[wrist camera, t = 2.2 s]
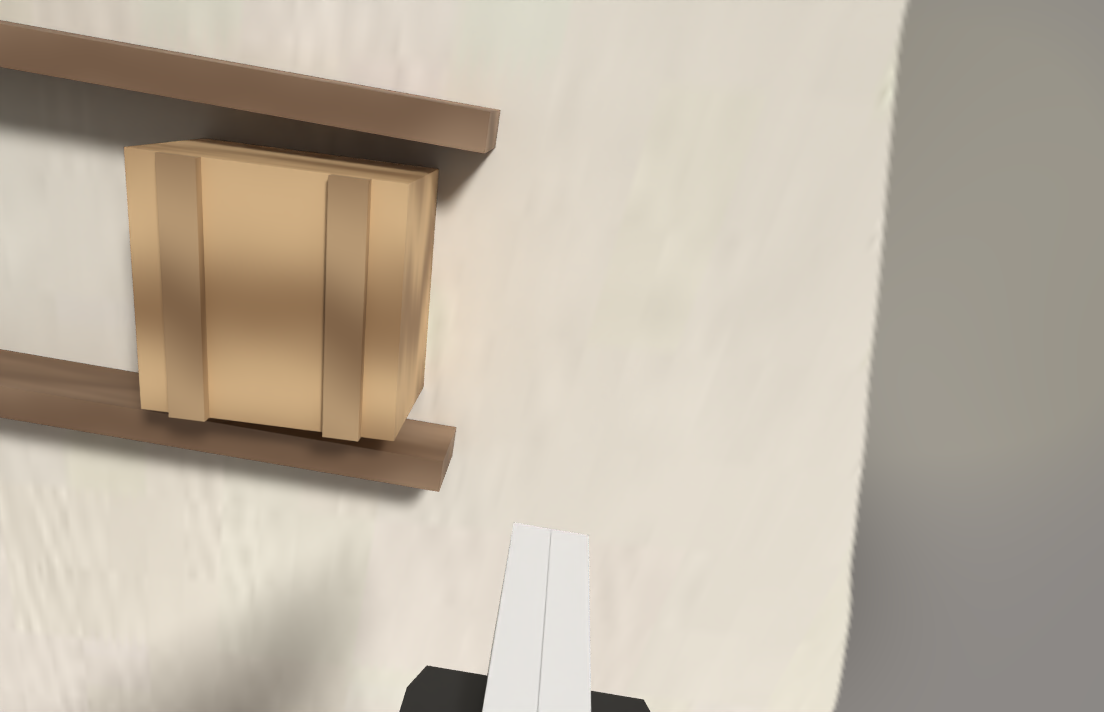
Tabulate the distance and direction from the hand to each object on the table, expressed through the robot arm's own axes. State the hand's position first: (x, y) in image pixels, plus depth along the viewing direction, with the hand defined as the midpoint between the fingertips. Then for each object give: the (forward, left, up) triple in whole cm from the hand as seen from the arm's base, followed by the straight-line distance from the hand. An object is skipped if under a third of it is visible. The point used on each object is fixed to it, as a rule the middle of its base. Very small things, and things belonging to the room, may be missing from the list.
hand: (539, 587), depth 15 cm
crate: (0, -11, -20) cm, 23 cm away
